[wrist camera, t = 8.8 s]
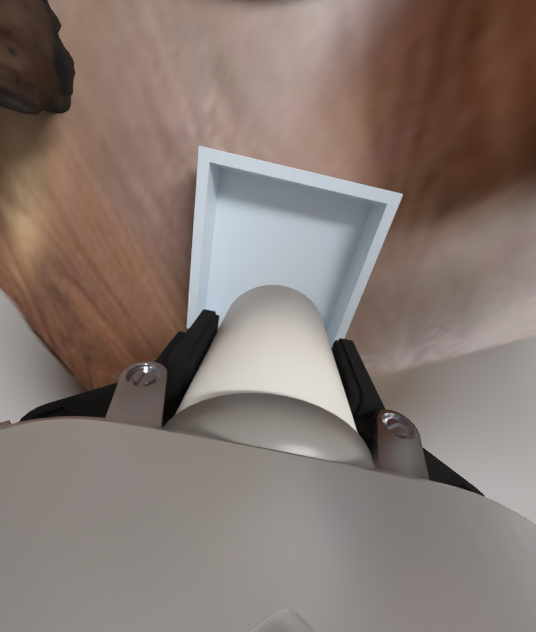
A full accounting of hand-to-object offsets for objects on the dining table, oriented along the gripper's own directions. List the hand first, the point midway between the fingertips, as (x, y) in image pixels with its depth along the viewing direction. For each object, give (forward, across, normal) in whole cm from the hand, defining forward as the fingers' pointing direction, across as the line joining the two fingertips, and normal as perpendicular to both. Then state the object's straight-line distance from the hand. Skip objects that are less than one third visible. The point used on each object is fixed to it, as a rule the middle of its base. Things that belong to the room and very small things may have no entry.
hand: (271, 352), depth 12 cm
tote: (+20, 0, 0) cm, 20 cm away
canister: (+2, 0, 0) cm, 2 cm away
